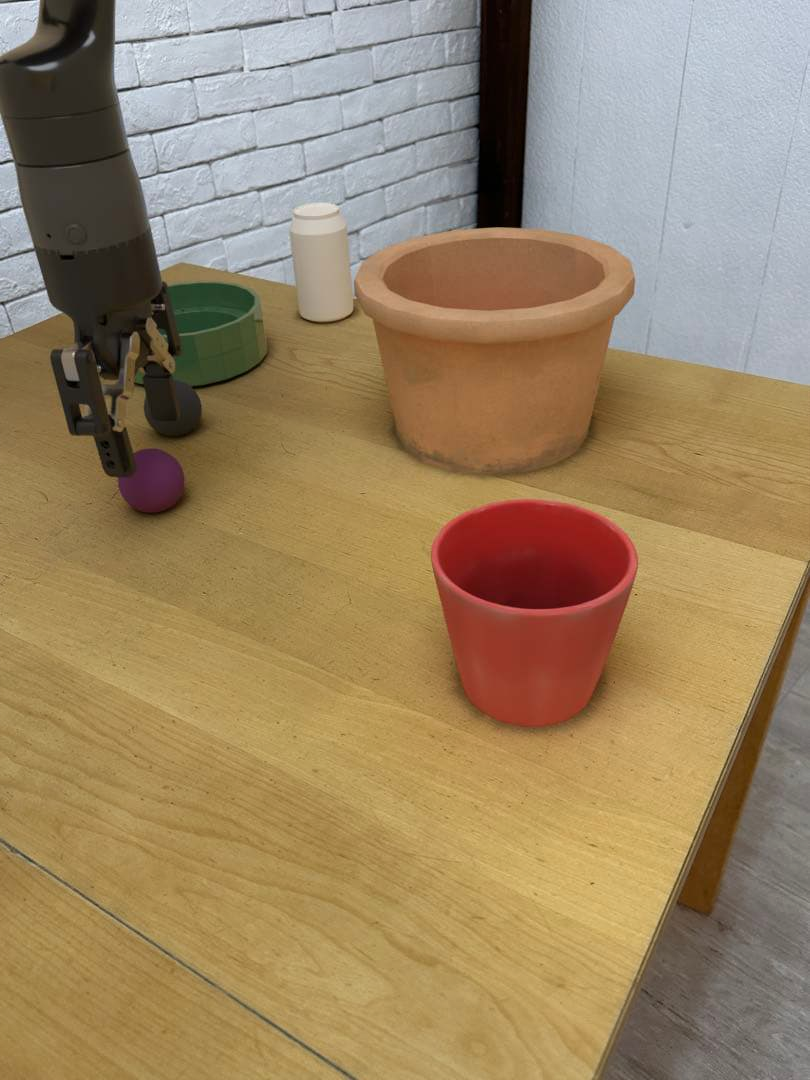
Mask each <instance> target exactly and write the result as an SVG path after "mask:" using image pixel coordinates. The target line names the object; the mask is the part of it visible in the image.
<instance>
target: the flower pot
mask: <svg viewBox="0 0 810 1080" xmlns="http://www.w3.org/2000/svg"><path fill="white" fill-rule="evenodd" d="M430 562H431V566H432V567H431V568H432V573H433V577H434V580H435V585H436V588H437V593H438V596H439V600H440V604H441V608H442V613H443V617H444V621H445V625H446V629H447V634H448V638H449V642H450V645H451V649H452V652H453V656H454V661H455V663H456V667H457V670H458V674H459V677H460V681H461V684H462V688H463V690H464V693H465V695H466V697H467V699H468V700H469V701H470V702H471V703H472V704H473V705H474V706H475V708H477V709H478V710H479V711H481V712H482V713H483V714H485V715H487V716H488V717H489V718H491V719H494V720H496V721H499V722H502V723H505V724H507V725H512V726H517V727H524V728H525V727H527V728H537V727H538V728H539V727H547V726H552V725H553V726H554V725H557V724H560V723H563V722H566V721H568V720H570V719H571V718H573V717H575V716H576V715H578V714H579V713H580V712H581V711H582V710H584V709H585V708H586V706H587V705H588V704H589V702H590V700H591V698H592V697H593V694H594V692H595V689H596V687H597V684H598V683H599V680H600V678H601V675H602V672H603V671H604V668H605V665H606V663H607V660H608V657H609V655H610V653H611V649H612V647H613V643H614V642H615V639H616V636H617V633H618V631H619V627H620V625H621V622H622V619H623V616H624V614H625V610H626V608H627V605H628V602H629V599H630V595H631V594H632V590H633V587H634V583H635V580H636V577H637V573H638V568H639V556H638V552H637V550H636V547H635V545H634V543H633V541H632V539H631V538H630V537H629V535H628V534H627V533H626V532H625V531H624V530H623V529H622V528H621V527H620V526H618V525H617V524H616V523H615V522H613V521H612V520H610V519H609V518H607V517H605V516H603V515H601V514H599V513H597V512H595V511H592V510H590V509H587V508H585V507H582V506H580V505H575V504H572V503H567V502H564V501H563V502H562V501H557V500H549V499H537V498H520V499H508V500H502V501H496V502H492V503H488V504H483V505H481V506H477V507H474V508H473V509H470V510H468V511H465V512H463V513H461V514H459V515H457V516H456V517H454V518H452V519H451V520H450V521H449V522H447V523H446V524H445V525H444V526H443V527H442V528H441V529H440V531H439V532H438V533H437V535H436V536H435V538H434V540H433V542H432V545H431V549H430Z"/></svg>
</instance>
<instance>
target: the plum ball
mask: <svg viewBox="0 0 810 1080" xmlns="http://www.w3.org/2000/svg"><path fill="white" fill-rule="evenodd" d="M133 455H134V459H135V463H136V466H137V470H136V472H135V473H134V474H133V475H132V476H131V477H129V478H127V477H117V486H118V490H119V493H120V495H121V497H122V498H123V500H124V501H125V503H127V504H128V505H129V506H130V507H132V508H133V509H135V510H137V511H139V512H142V513H147V514H156V513H162V512H165V511H167V510H168V509H171V508H172V507H173V506H174V505H175V504H176V503H178V501H179V499H180V498H181V496H182V495H183V492H184V489H185V484H186V482H185V479H186V478H185V473H184V470H183V467H182V466H181V464H180V463H179V461H178V460H177V459H176V457H174V456H173V455H172V454H170V453H168V452H167V451H165V450H162V449H159V448H152V447H151V448H149V447H147V448H142V449H139V450H137V451H135V452H134V451H133Z"/></svg>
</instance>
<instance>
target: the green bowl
mask: <svg viewBox="0 0 810 1080" xmlns="http://www.w3.org/2000/svg"><path fill="white" fill-rule="evenodd" d="M167 286H168V290H169V294H170V298H171V302H172V307H173V311H174V315H175V319H176V323H177V327H178V332H179V336H180V340H181V344H182V353H181V355H180V356H174V358H173V359H174V361H175V371H174V373H171V374H172V376H173V380H178V381H182V382H184V383H186V384H188V385H189V386H191V387H196V386H197V387H198V386H205V385H209V384H214V383H217V382H222V381H227V380H229V379H231V378H234V377H236V376H238V375H241V374H244V373H246V372H248V371H249V370H251V369H253V367H255V366H257V365H258V364H259V363H261V362H262V361H263V359H264V358H265V356H266V355H267V354H268V341H267V334H266V333H267V332H266V326H265V321H264V320H265V319H264V312H263V305H262V298H261V295H260V294H259V293H258V292H256V291H255V289H253V288H251V287H249V286H246V285H244V284H240V283H236V282H235V283H234V282H228V281H221V280H195V281H194V280H193V281H184V282H177V283H170V284H167ZM157 330H158V331H159V333H160V334H161V335H162V337H163V338H164V339H165V340H168V339H167V335H166V332H165V330H163V329H157ZM145 374H147V373H142V372H141V371H140V370H139V369H138V371H137V373H136V375H135V377H134V384H140V385H144V384H143V380H142V377H143V376H144V375H145Z"/></svg>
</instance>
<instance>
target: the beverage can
mask: <svg viewBox="0 0 810 1080" xmlns="http://www.w3.org/2000/svg"><path fill="white" fill-rule="evenodd" d="M292 213H293V216H292V218H291V221H290V224H289V227H288V233H289V241H290V248H291V250H290V251H291V258H292V267H293V274H294V275H293V276H294V282H295V291H296V298H297V305H298V313H299V315H300V316H301V317H302V318H303V319H305V320H308V321H310V322H313V323H333V322H337V321H341V320H343V319H345V318H347V317H348V316H349V315H351V314H352V313H353V311H354V295H353V294H354V293H353V282H352V281H353V280H352V270H351V259H350V247H349V235H348V224H347V222H346V220H345V218H344V217H343V215H342V213H341V211H340V207H339V205H337V204H334V203H330V202H312V203H305V204H302V205H298V206H297V207H295V208H294V209H293V210H292Z"/></svg>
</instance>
